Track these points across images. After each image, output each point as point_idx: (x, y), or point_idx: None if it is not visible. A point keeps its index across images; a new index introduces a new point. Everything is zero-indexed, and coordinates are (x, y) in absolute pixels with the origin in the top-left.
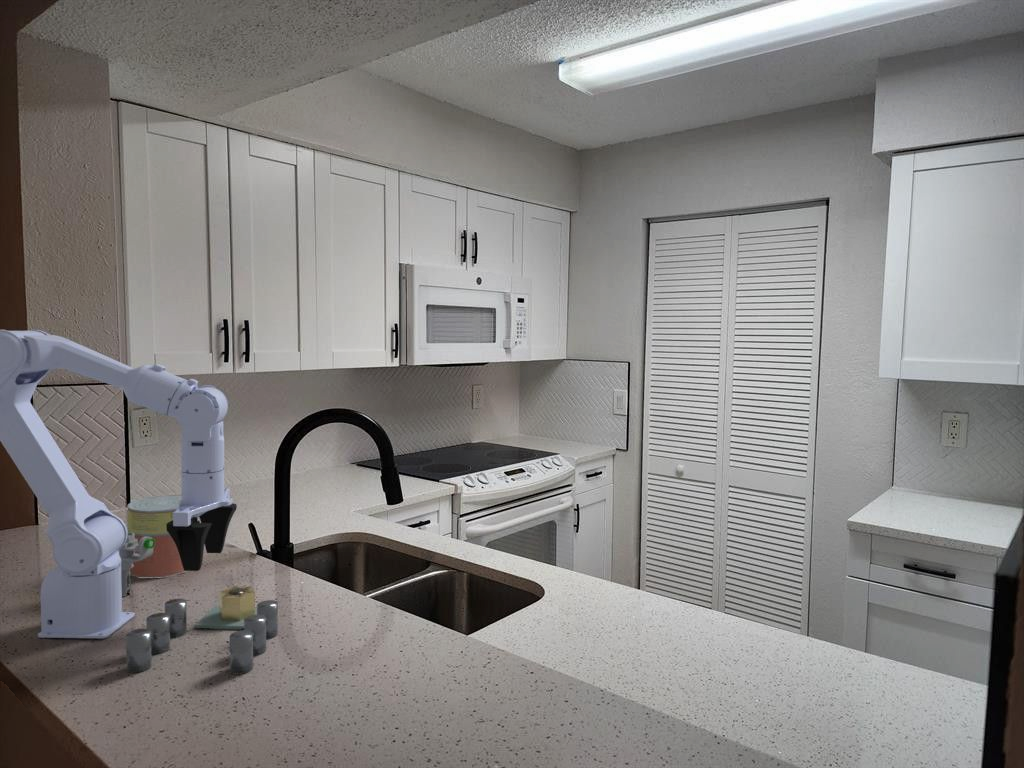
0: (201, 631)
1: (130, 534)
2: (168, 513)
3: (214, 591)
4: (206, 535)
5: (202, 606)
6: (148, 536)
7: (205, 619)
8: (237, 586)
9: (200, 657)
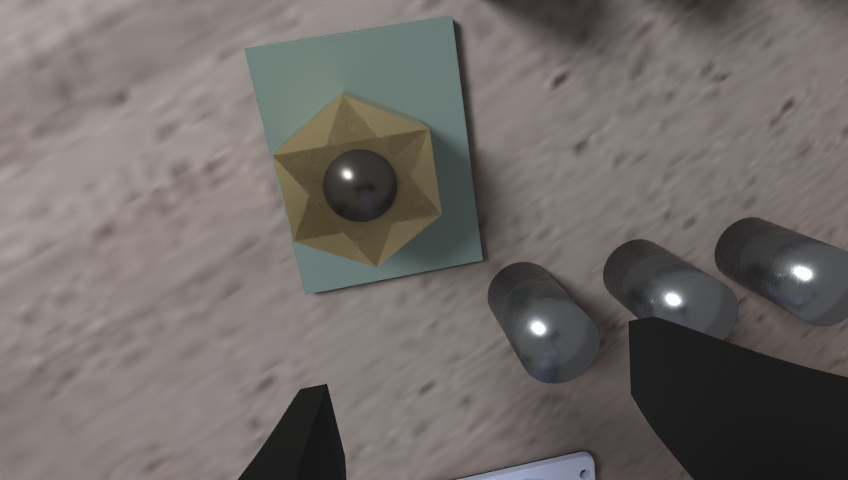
0: (494, 222)
1: None
2: None
3: (143, 391)
4: (833, 413)
5: (293, 346)
6: None
7: (429, 254)
8: (293, 222)
9: (679, 107)
